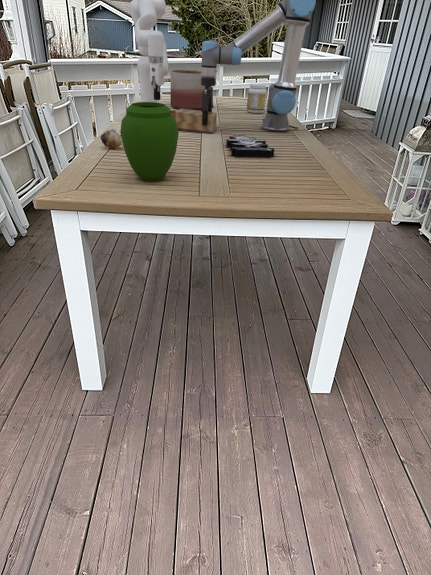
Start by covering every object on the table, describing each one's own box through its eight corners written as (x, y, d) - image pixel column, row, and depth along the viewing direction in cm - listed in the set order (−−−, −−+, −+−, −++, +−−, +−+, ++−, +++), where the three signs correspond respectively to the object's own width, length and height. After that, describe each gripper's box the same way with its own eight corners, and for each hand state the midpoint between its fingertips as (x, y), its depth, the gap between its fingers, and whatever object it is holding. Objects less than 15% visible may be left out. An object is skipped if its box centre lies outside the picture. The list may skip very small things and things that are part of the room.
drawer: (148, 124, 219) (147, 110, 215) (153, 121, 227) (153, 107, 223) (192, 129, 216) (192, 115, 212) (196, 126, 224) (196, 112, 220)
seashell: (124, 147, 182) (123, 128, 178) (122, 150, 177) (120, 130, 173) (103, 146, 182) (101, 127, 178) (100, 149, 177) (98, 129, 173)
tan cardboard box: (175, 129, 217) (175, 111, 212) (180, 125, 226) (180, 108, 221) (212, 133, 215) (213, 115, 210) (215, 129, 224) (216, 112, 219)
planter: (201, 104, 296) (202, 70, 284) (212, 110, 276) (213, 73, 264) (166, 104, 289) (166, 69, 277) (175, 110, 268) (175, 73, 257)
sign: (232, 149, 174) (222, 134, 199) (232, 157, 176) (222, 140, 201) (276, 150, 177) (260, 135, 202) (275, 157, 179) (260, 141, 204)
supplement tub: (247, 109, 285) (249, 83, 276) (264, 111, 283) (267, 84, 274) (245, 112, 274) (248, 84, 265) (264, 114, 273) (266, 86, 264)
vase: (131, 189, 135) (125, 110, 122) (118, 172, 150) (112, 100, 137) (186, 184, 142) (187, 109, 129) (169, 168, 157) (167, 99, 144)
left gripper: (158, 61, 200) (159, 102, 210) (167, 59, 212) (167, 98, 222) (144, 60, 200) (145, 101, 210) (153, 58, 213) (154, 97, 223)
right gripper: (211, 79, 196) (209, 127, 207) (219, 75, 215) (217, 119, 227) (196, 78, 197) (195, 126, 208) (205, 74, 216) (204, 118, 228)
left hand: (157, 99), depth 216 cm, fingers closed
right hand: (206, 123), depth 218 cm, fingers closed on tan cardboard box, 11 cm apart
